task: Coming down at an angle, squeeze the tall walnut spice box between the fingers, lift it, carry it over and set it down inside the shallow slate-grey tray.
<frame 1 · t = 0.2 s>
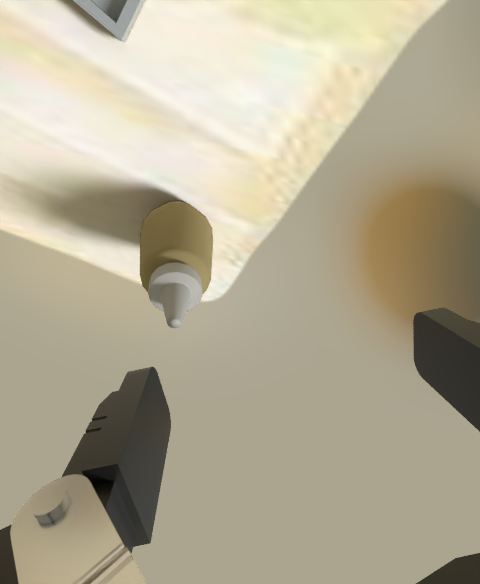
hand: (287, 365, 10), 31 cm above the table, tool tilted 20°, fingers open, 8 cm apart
squeeze bottle: (177, 222, 39), on the table
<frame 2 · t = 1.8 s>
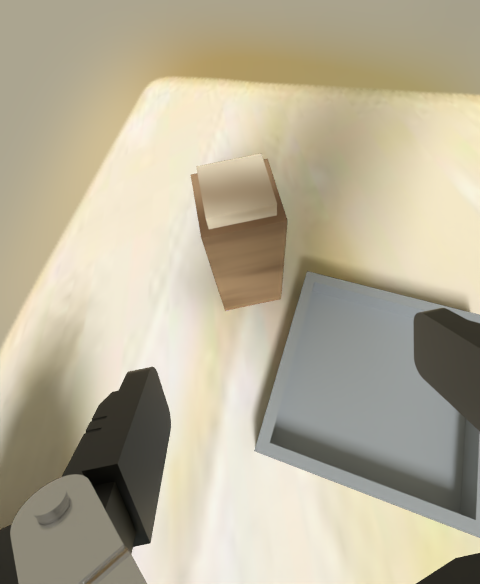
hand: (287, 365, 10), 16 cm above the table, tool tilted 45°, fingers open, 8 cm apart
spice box: (247, 280, 29), on the table
tray: (371, 387, 24), on the table
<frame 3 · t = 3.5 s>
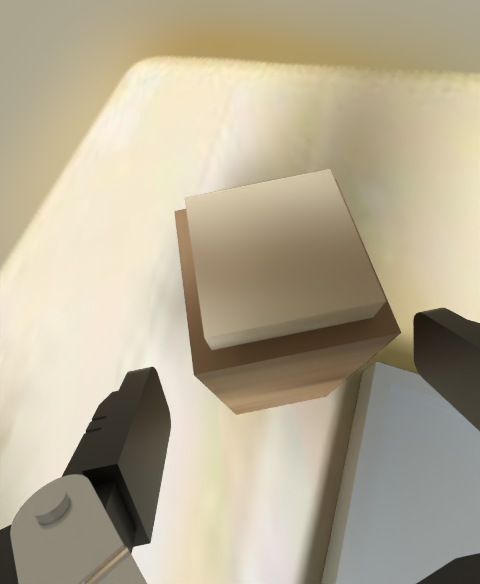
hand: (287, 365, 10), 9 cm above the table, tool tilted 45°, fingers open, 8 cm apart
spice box: (271, 360, 19), on the table
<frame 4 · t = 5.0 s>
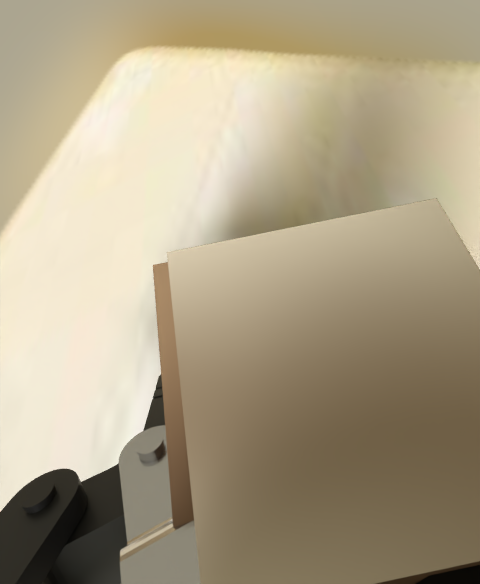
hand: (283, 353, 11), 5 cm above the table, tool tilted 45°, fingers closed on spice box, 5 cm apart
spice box: (288, 423, 15), on the table, touching gripper
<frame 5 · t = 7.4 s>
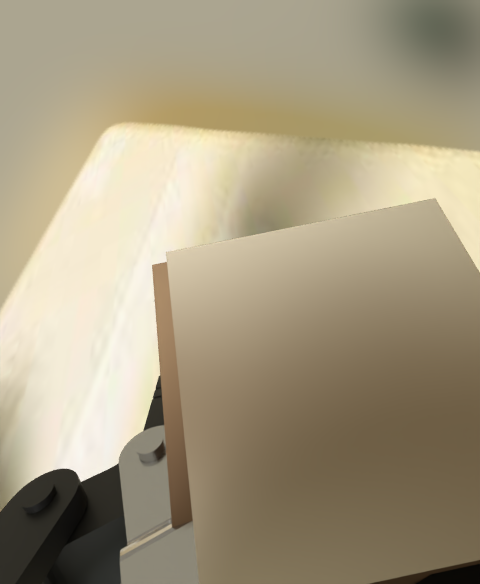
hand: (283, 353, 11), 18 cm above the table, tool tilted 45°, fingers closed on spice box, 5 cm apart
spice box: (288, 423, 15), point 13 cm above the table, touching gripper
when the fingers open (8 cm above the table, at t = 10.0 s): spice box drops 1 cm, resting on tray.
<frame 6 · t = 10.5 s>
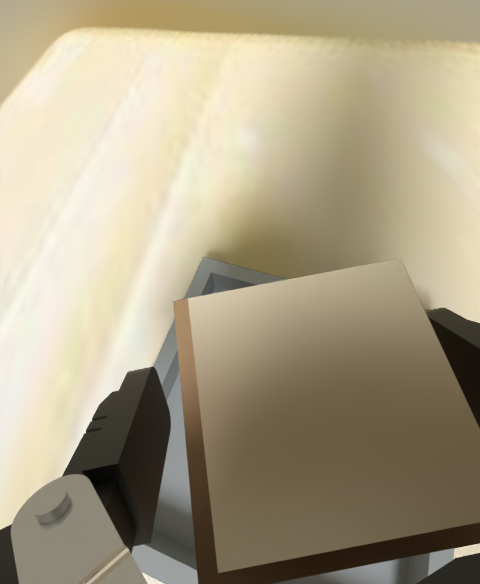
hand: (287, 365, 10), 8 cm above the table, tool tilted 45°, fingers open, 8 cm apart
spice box: (286, 427, 16), point 1 cm above the table, touching tray
tray: (285, 426, 17), on the table
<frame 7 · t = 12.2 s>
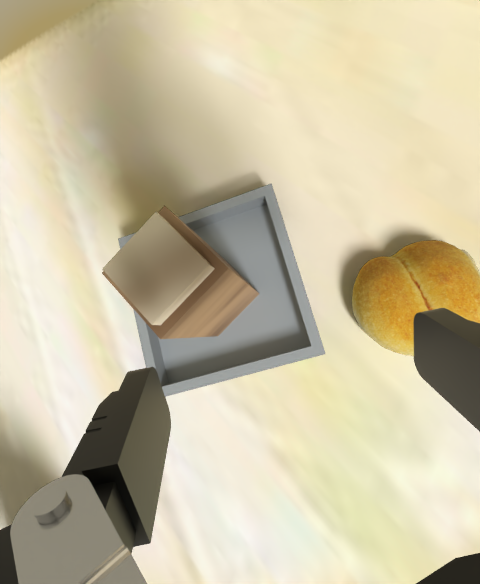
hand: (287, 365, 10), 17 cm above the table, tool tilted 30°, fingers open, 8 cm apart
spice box: (218, 294, 27), point 1 cm above the table, touching tray
tray: (220, 294, 28), on the table
bread roll: (411, 299, 26), on the table
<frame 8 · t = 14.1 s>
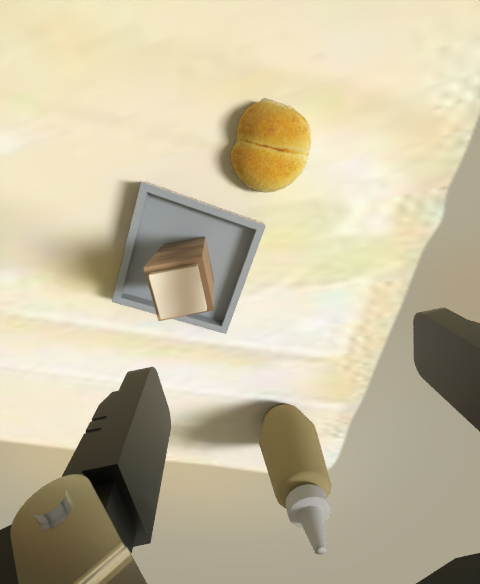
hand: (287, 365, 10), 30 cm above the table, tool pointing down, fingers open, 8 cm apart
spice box: (189, 261, 38), point 1 cm above the table, touching tray
tray: (188, 259, 39), on the table
squeeze bottle: (282, 418, 48), on the table
bread roll: (268, 148, 36), on the table
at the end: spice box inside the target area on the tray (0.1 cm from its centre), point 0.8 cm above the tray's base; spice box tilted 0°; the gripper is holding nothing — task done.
